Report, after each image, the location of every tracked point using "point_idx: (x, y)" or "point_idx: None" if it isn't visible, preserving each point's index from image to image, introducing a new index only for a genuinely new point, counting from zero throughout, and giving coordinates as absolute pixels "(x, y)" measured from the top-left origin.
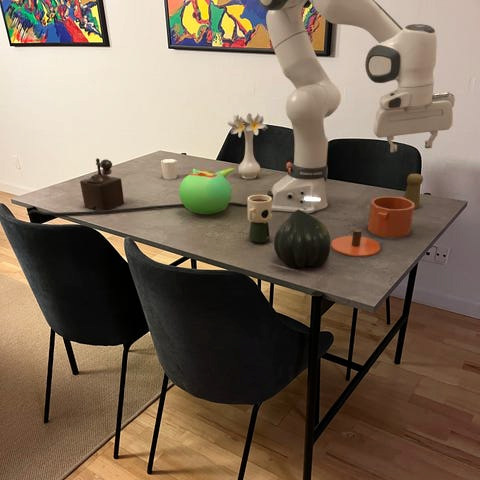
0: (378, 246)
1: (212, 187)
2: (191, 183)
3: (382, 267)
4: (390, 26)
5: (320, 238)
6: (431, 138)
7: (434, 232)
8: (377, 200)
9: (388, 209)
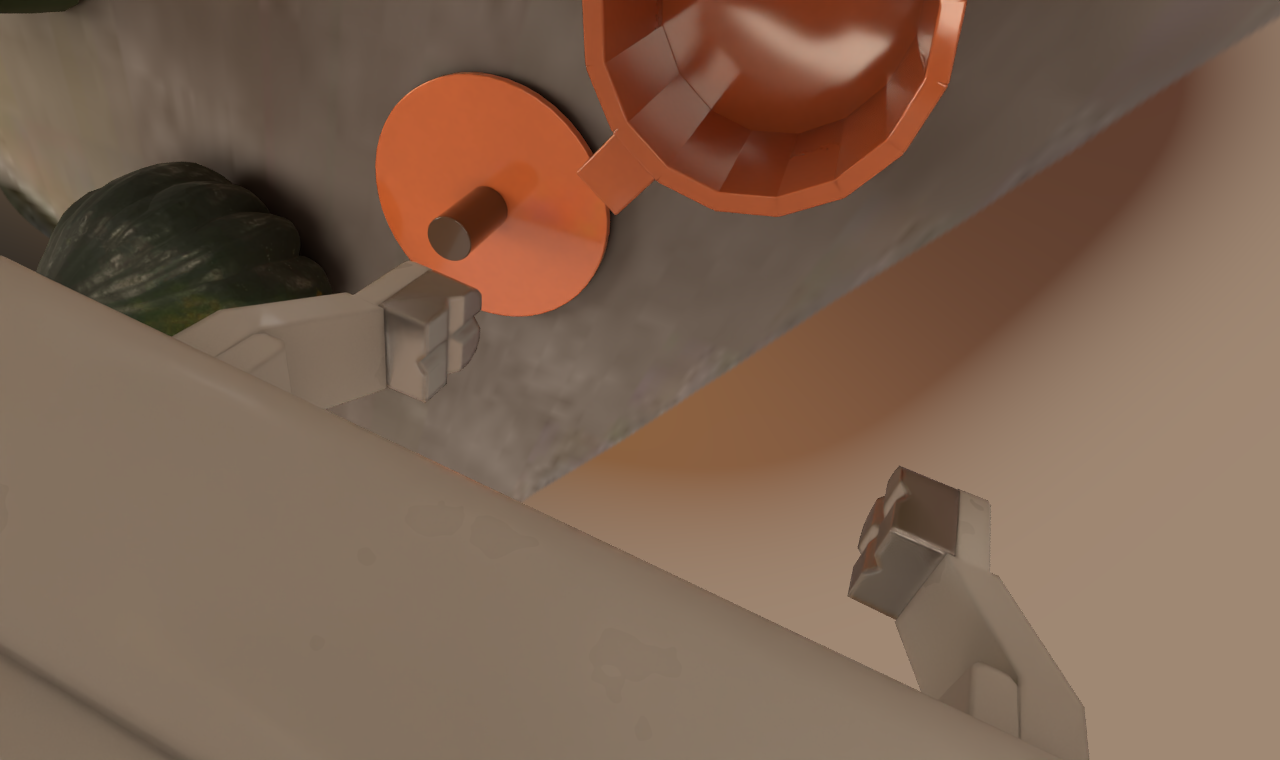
0: (591, 258)
1: None
2: None
3: (556, 390)
4: None
5: None
6: (930, 655)
7: (1097, 114)
8: None
9: (651, 171)
